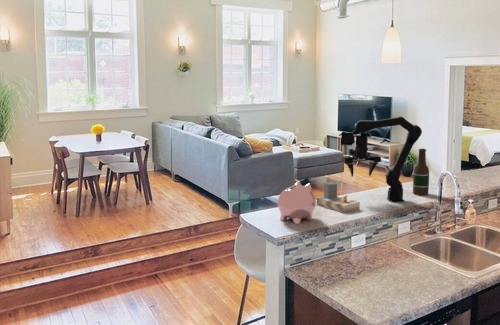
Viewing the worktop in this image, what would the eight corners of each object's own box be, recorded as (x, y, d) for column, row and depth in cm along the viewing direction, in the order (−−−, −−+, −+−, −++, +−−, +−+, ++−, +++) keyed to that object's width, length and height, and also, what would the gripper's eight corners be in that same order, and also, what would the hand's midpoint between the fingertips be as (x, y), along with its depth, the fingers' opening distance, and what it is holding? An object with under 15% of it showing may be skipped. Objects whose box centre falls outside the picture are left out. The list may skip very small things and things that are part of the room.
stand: (359, 209, 224) (359, 201, 224) (344, 212, 219) (344, 205, 218) (331, 201, 240) (331, 194, 239) (316, 204, 235) (316, 197, 234)
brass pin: (346, 201, 226) (346, 195, 225) (347, 202, 224) (347, 196, 224) (343, 201, 225) (343, 195, 225) (344, 202, 224) (344, 196, 223)
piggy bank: (323, 218, 212) (323, 183, 209) (297, 227, 200) (297, 190, 197) (297, 211, 223) (297, 178, 220) (271, 220, 211) (270, 185, 208)
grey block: (332, 195, 236) (332, 182, 235) (336, 197, 232) (337, 183, 230) (324, 196, 234) (324, 182, 233) (328, 198, 230) (328, 184, 229)
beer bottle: (412, 195, 248) (413, 149, 244) (413, 191, 256) (414, 147, 251) (428, 196, 246) (430, 150, 241) (428, 192, 253) (430, 148, 248)
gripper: (373, 142, 247) (372, 172, 250) (338, 144, 245) (338, 173, 248) (381, 145, 236) (381, 176, 239) (345, 147, 234) (345, 178, 237)
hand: (361, 176), depth 241 cm, fingers open, 9 cm apart
